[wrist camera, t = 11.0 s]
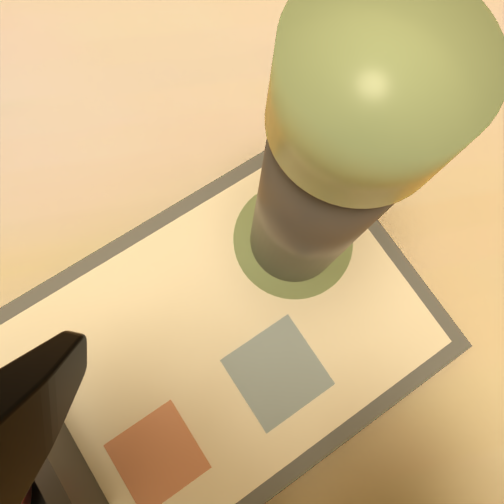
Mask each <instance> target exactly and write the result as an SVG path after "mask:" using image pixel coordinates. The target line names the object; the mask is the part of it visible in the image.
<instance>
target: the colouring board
mask: <svg viewBox="0 0 504 504" xmlns="http://www.w3.org/2000/svg"><path fill="white" fill-rule="evenodd" d="M264 152H265V151H263V152H261V153H260V154H258V155H256V156H255V157H253V158H251V159H250V160H248V161H246V162H245V163H243V164H241V165H240V166H238V167H236V168H235V169H233V170H231V171H230V172H228V173H226V174H225V175H223V176H221V177H219V178H218V179H216V180H214V181H213V182H211V183H209V184H208V185H206V186H204V187H203V188H201V189H199V190H198V191H196V192H194V193H193V194H191V195H189V196H188V197H186V198H184V199H183V200H181V201H179V202H177V203H176V204H174V205H172V206H171V207H169V208H167V209H166V210H164V211H162V212H161V213H159V214H157V215H156V216H154V217H152V218H151V219H149V220H147V221H146V222H144V223H142V224H141V225H139V226H137V227H135V228H134V229H132V230H130V231H129V232H127V233H125V234H124V235H122V236H120V237H119V238H117V239H115V240H114V241H112V242H110V243H109V244H107V245H105V246H104V247H102V248H100V249H99V250H97V251H95V252H93V253H92V254H90V255H88V256H87V257H85V258H83V259H82V260H80V261H78V262H77V263H75V264H73V265H72V266H70V267H68V268H67V269H65V270H63V271H62V272H60V273H58V274H57V275H55V276H53V277H51V278H50V279H48V280H46V281H45V282H43V283H41V284H40V285H38V286H36V287H35V288H33V289H31V290H30V291H28V292H26V293H25V294H23V295H21V296H20V297H18V298H16V299H15V300H13V301H11V302H9V303H8V304H6V305H4V306H3V307H1V308H0V368H1V367H3V366H5V365H6V364H8V363H10V362H11V361H13V360H15V359H17V358H18V357H20V356H22V355H23V354H25V353H27V352H28V351H30V350H32V349H34V348H35V347H37V346H39V345H40V344H42V343H44V342H45V341H47V340H49V339H51V338H52V337H54V336H56V335H57V334H59V333H61V332H63V331H73V332H77V333H82V334H84V335H85V336H86V338H87V368H86V372H85V375H84V377H83V379H82V382H81V384H80V386H79V389H78V391H77V393H76V396H75V398H74V400H73V402H72V405H71V407H70V409H69V412H68V414H67V416H66V419H65V421H64V423H65V424H66V426H67V428H68V430H69V432H70V434H71V435H72V437H73V439H74V441H75V443H76V444H77V446H78V448H79V450H80V452H81V453H82V455H83V457H84V459H85V461H86V463H87V464H88V466H89V468H90V470H91V472H92V473H93V475H94V477H95V479H96V481H97V483H98V484H99V486H100V488H101V490H102V492H103V493H104V495H105V497H106V499H107V501H108V503H109V504H265V503H266V502H268V501H269V500H270V499H272V498H273V497H274V496H275V495H277V494H278V493H279V492H281V491H282V490H283V489H285V488H286V487H287V486H289V485H290V484H291V483H293V482H294V481H295V480H297V479H298V478H299V477H300V476H302V475H303V474H304V473H306V472H307V471H308V470H310V469H311V468H312V467H314V466H315V465H316V464H318V463H319V462H320V461H322V460H323V459H324V458H325V457H327V456H328V455H329V454H331V453H332V452H333V451H335V450H336V449H337V448H339V447H340V446H341V445H343V444H344V443H345V442H347V441H348V440H349V439H351V438H352V437H353V436H354V435H356V434H357V433H358V432H360V431H361V430H362V429H364V428H365V427H366V426H368V425H369V424H370V423H372V422H373V421H374V420H376V419H377V418H378V417H379V416H381V415H382V414H383V413H385V412H386V411H387V410H389V409H390V408H391V407H393V406H394V405H395V404H397V403H398V402H399V401H401V400H402V399H403V398H405V397H406V396H407V395H408V394H410V393H411V392H412V391H414V390H415V389H416V388H418V387H419V386H420V385H422V384H423V383H424V382H426V381H427V380H428V379H430V378H431V377H432V376H433V375H435V374H436V373H437V372H439V371H440V370H441V369H443V368H444V367H445V366H447V365H448V364H449V363H451V362H452V361H453V360H455V359H456V358H457V357H458V356H460V355H461V354H462V353H464V352H465V351H466V350H468V349H469V348H470V347H472V345H471V344H470V342H469V341H468V340H467V338H466V337H465V336H464V334H463V333H462V332H461V330H460V329H459V328H458V326H457V325H456V324H455V322H454V321H453V320H452V318H451V317H450V316H449V314H448V313H447V312H446V310H445V309H444V308H443V306H442V305H441V304H440V302H439V301H438V300H437V298H436V297H435V296H434V294H433V293H432V292H431V290H430V289H429V288H428V286H427V285H426V284H425V282H424V281H423V280H422V278H421V277H420V276H419V274H418V273H417V272H416V270H415V269H414V268H413V266H412V265H411V264H410V262H409V261H408V260H407V258H406V257H405V256H404V254H403V253H402V252H401V250H400V249H399V248H398V246H397V245H396V244H395V242H394V241H393V240H392V238H391V237H390V236H389V234H388V233H387V232H386V230H385V229H384V228H383V226H382V225H381V224H380V222H379V221H378V220H376V221H375V222H374V223H373V224H372V225H371V226H370V227H369V228H368V229H367V230H366V231H365V232H364V233H363V234H362V235H361V236H360V237H358V238H357V239H356V240H355V241H354V242H353V243H352V244H351V245H350V246H349V247H348V248H347V249H346V250H345V251H344V252H343V253H342V254H341V255H339V256H338V257H337V258H336V259H335V260H334V261H333V262H332V263H331V264H330V265H329V266H328V267H327V268H326V269H325V270H324V271H323V272H321V273H320V274H319V275H317V276H315V277H314V278H311V279H309V280H306V281H301V282H288V281H283V280H280V279H277V278H275V277H273V276H271V275H270V274H268V273H267V272H266V271H265V270H264V269H263V268H262V267H261V266H260V265H259V264H258V262H257V261H256V259H255V257H254V255H253V253H252V249H251V243H250V235H251V228H252V222H253V216H254V211H255V205H256V199H257V193H258V187H259V181H260V175H261V169H262V164H263V158H264Z"/></svg>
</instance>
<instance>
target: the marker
mask: <svg viewBox="0 0 504 504" xmlns="http://www.w3.org/2000/svg"><path fill="white" fill-rule="evenodd" d="M503 102H504V35H503V33H502V31H501V29H500V27H499V24H498V22H497V21H496V19H495V17H494V16H493V14H492V13H491V11H490V10H489V8H488V7H487V6H486V5H485V3H484V2H483V1H482V0H288V2H287V3H286V5H285V7H284V10H283V12H282V14H281V17H280V20H279V23H278V27H277V33H276V40H275V47H274V54H273V61H272V68H271V74H270V81H269V88H268V95H267V102H266V109H265V130H266V137H267V140H266V146H265V152H264V158H263V164H262V169H261V175H260V181H259V187H258V193H257V199H256V205H255V211H254V216H253V222H252V228H251V235H250V243H251V249H252V253H253V255H254V257H255V259H256V261H257V262H258V264H259V265H260V266H261V267H262V268H263V269H264V270H265V271H266V272H267V273H268V274H270V275H271V276H273V277H275V278H277V279H280V280H283V281H288V282H301V281H306V280H309V279H311V278H314V277H315V276H317V275H319V274H320V273H321V272H323V271H324V270H325V269H326V268H327V267H328V266H329V265H330V264H331V263H332V262H333V261H334V260H335V259H336V258H337V257H338V256H339V255H341V254H342V253H343V252H344V251H345V250H346V249H347V248H348V247H349V246H350V245H351V244H352V243H353V242H354V241H355V240H356V239H357V238H358V237H360V236H361V235H362V234H363V233H364V232H365V231H366V230H367V229H368V228H369V227H370V226H371V225H372V224H373V223H374V222H375V221H376V220H378V219H379V218H380V217H381V216H382V215H383V214H384V213H385V212H386V211H387V210H388V209H389V208H390V207H391V206H392V205H393V204H394V203H396V202H399V201H401V200H403V199H405V198H407V197H409V196H410V195H412V194H413V193H415V192H416V191H417V190H418V189H420V188H421V187H422V186H423V185H424V184H425V183H427V182H428V181H429V180H430V179H431V178H432V177H433V176H434V175H435V174H437V173H438V172H439V171H440V170H441V169H442V168H443V167H444V166H445V165H447V164H448V163H449V162H450V161H451V160H452V159H453V158H454V157H455V156H457V155H458V154H459V153H460V152H461V151H462V150H463V149H464V148H465V147H467V146H468V145H469V144H470V143H471V142H472V141H473V140H474V139H475V138H477V137H478V136H479V135H480V134H481V133H482V132H483V131H484V130H485V129H486V128H487V127H488V126H489V125H490V123H491V122H492V121H493V119H494V118H495V116H496V115H497V114H498V112H499V110H500V108H501V106H502V104H503Z"/></svg>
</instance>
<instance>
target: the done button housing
mask: <svg viewBox="0 0 504 504" xmlns="http://www.w3.org/2000/svg"><path fill="white" fill-rule="evenodd" d="M31 486H32V497H31V504H109V503H108V501H107V499H106V497H105V495H104V493H103V492H102V490H101V488H100V486H99V484H98V483H97V481H96V479H95V477H94V475H93V473H92V472H91V470H90V468H89V466H88V464H87V463H86V461H85V459H84V457H83V455H82V453H81V452H80V450H79V448H78V446H77V444H76V443H75V441H74V439H73V437H72V435H71V434H70V432H69V430H68V428H67V426H66V424H65V423H63V426H62V428H61V430H60V432H59V435H58V437H57V439H56V441H55V443H54V446H53V448H52V449H51V451H50V453H49V455H48V457H47V459H46V461H45V462H44V464H43V466H42V468H41V469H40V471H39V473H38V475H37V476H36V478H35V480H34V482H33V483H32V485H31Z"/></svg>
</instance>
